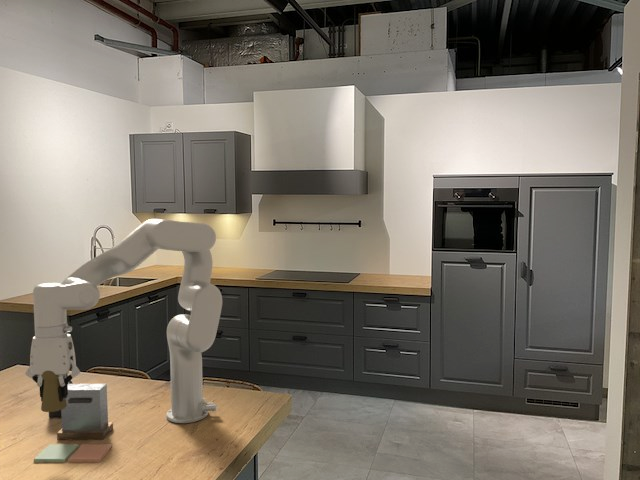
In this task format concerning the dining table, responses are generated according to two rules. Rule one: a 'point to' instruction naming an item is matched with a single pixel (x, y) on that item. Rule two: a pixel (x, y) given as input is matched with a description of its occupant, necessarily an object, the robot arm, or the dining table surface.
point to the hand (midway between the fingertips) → (54, 398)
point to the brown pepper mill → (51, 393)
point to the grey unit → (85, 413)
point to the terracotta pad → (90, 453)
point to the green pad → (56, 453)
